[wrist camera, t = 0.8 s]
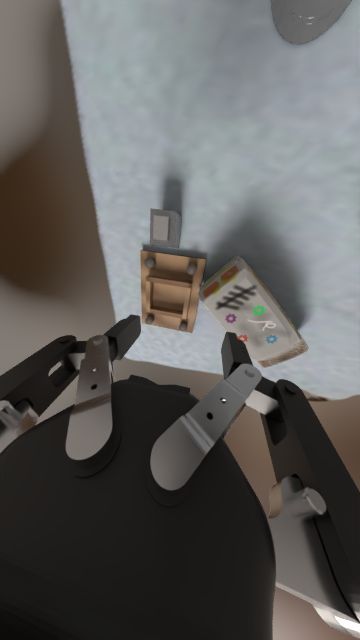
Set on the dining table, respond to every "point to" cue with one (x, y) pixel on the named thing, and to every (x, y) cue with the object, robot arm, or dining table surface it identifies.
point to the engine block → (165, 228)
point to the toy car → (251, 314)
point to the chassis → (170, 289)
